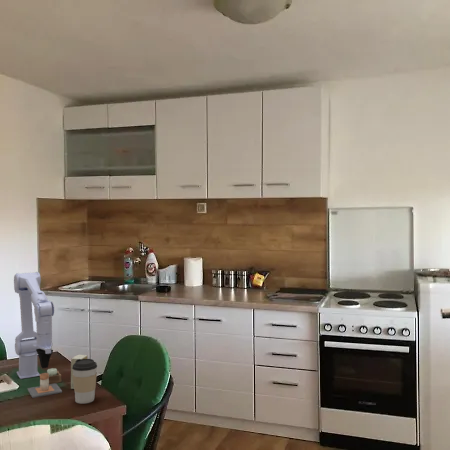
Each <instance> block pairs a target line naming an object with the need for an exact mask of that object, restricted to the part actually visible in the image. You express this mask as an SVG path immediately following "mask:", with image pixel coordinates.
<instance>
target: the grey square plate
mask: <svg viewBox="0 0 450 450" xmlns="http://www.w3.org/2000/svg"><path fill="white" fill-rule="evenodd" d="M27 391H28V393H29V395H30V396H31V397H32V399H35V398H40V397H45V396H50V395H56V394H62V393H63V390H62V388H61V387H60V386H59V385H58V383H54V384H49V389H48V390H46V391H41V390H40V385H39V386H33V387H27Z"/></svg>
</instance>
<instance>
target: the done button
mask: <svg viewBox="0 0 450 450" xmlns="http://www.w3.org/2000/svg"><path fill="white" fill-rule="evenodd" d="M57 371H58V369H57V368H53V367H52V368H48V369H47V370H46V373H49V376H55V375H57Z"/></svg>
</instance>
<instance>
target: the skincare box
mask: <svg viewBox="0 0 450 450" xmlns="http://www.w3.org/2000/svg"><path fill="white" fill-rule="evenodd" d="M77 359H88V355H86V354H77V355H75V356H73V357H72V358H71V359H70V389H71V390H74V381H73V369H72V367H73V364H75V362H76V360H77Z"/></svg>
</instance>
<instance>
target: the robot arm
mask: <svg viewBox="0 0 450 450" xmlns="http://www.w3.org/2000/svg"><path fill="white" fill-rule="evenodd" d="M41 280H42V277H41V274H40V272H39V271H36V272H22V273H19V272H16V273H15V274H14V276H13V289H14V293H16V294H18V296H19V306H20V323H21V325H20V327H21V331H20V333H19V334H18V335H17V336H16V337H15V339H14V341H15V342H14V352H15V354H16V355H17V356H18V370H17V371H16V374H17V376H18V377H19V379H20V380H22V379H29V378H35V377H40V374H41V373H40V372H39V371H38V359H39V365H40V368H41V369H47V368H48V369H49V364H50V359H51V356H52V354H53V353H54V350H53V316H54V315H55V305H54V302H53V301H51V300H49V299H48V296H47V295H46V293H45V291H43V290H41V288H40V285H41V282H42V281H41ZM33 309H34V310H33ZM33 311H34V317H33ZM34 321H35V323H36V331H35V330H34Z"/></svg>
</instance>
